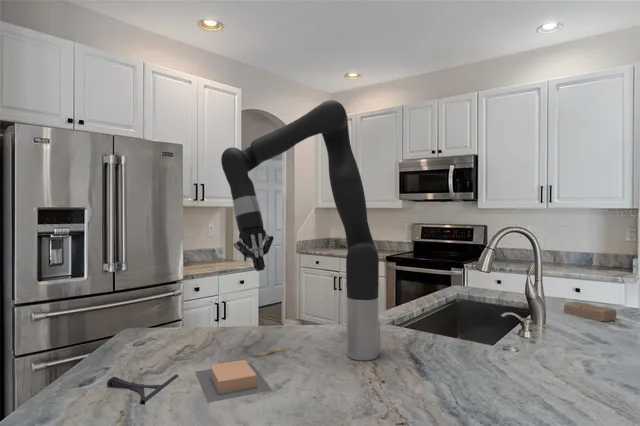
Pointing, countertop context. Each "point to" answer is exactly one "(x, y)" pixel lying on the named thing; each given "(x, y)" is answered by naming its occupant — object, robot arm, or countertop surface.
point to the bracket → (138, 387)
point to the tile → (233, 377)
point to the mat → (213, 395)
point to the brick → (590, 311)
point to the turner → (272, 352)
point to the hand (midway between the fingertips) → (260, 270)
